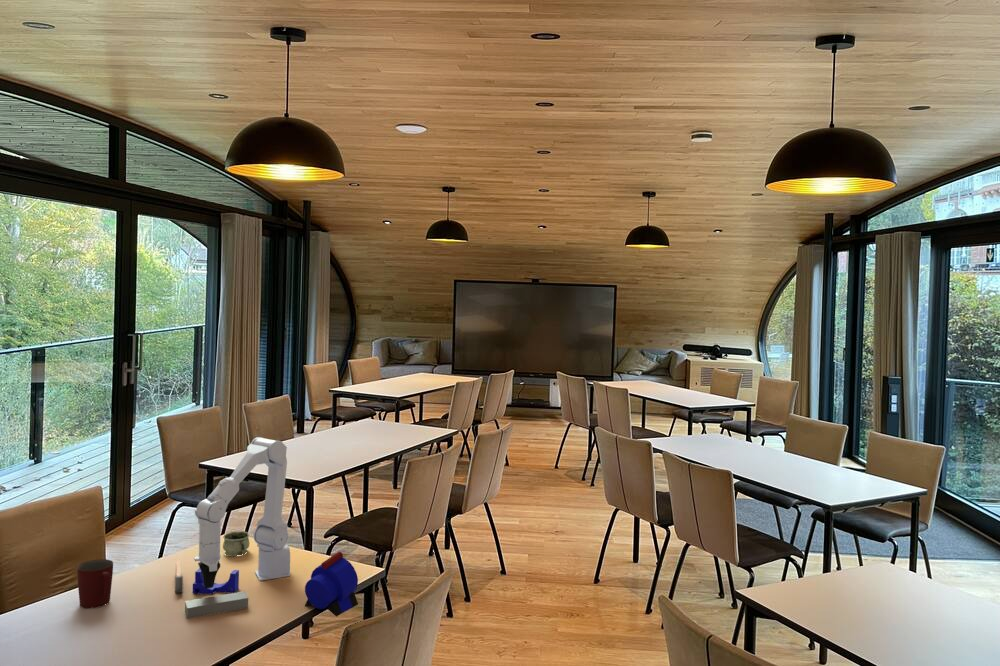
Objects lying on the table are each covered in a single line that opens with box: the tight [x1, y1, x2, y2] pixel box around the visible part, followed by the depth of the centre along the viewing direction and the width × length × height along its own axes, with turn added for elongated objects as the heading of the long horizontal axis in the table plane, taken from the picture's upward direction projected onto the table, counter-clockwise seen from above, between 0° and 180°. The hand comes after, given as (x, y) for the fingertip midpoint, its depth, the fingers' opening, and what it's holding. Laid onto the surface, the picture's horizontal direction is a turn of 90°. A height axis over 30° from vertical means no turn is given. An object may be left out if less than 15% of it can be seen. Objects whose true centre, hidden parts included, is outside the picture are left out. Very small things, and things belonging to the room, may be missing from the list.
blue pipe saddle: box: [192, 567, 240, 595], centre depth 216 cm, size 12×4×6 cm, turn 89°
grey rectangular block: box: [184, 590, 249, 620], centre depth 203 cm, size 16×5×3 cm, turn 120°
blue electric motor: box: [304, 551, 359, 617], centre depth 208 cm, size 12×12×15 cm
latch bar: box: [174, 559, 184, 594], centre depth 220 cm, size 16×2×4 cm, turn 25°
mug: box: [76, 558, 114, 609], centre depth 203 cm, size 12×9×11 cm
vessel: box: [222, 530, 251, 557], centre depth 247 cm, size 12×9×6 cm
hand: (208, 587), depth 209 cm, fingers closed
